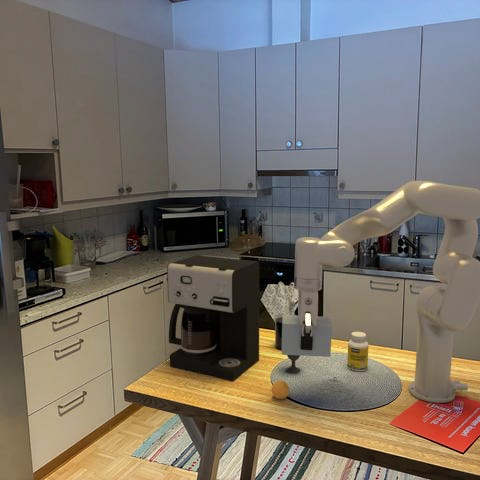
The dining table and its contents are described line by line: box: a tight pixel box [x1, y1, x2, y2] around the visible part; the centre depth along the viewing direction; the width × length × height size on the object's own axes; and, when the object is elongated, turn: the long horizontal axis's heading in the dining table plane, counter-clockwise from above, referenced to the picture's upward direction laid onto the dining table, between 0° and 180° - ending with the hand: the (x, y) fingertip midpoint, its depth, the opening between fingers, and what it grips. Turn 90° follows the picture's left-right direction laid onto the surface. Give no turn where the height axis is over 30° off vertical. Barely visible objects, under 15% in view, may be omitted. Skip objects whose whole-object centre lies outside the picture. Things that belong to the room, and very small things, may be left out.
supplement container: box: [274, 316, 283, 351], centre depth 176 cm, size 7×7×10 cm
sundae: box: [285, 355, 302, 374], centre depth 156 cm, size 7×7×15 cm
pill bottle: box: [346, 331, 370, 372], centre depth 158 cm, size 6×6×12 cm
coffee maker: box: [166, 254, 260, 382], centre depth 161 cm, size 28×20×35 cm
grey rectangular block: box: [281, 314, 333, 358], centre depth 135 cm, size 13×8×9 cm, turn 85°
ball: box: [271, 380, 290, 400], centre depth 138 cm, size 5×5×5 cm
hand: (305, 343), depth 135 cm, fingers closed on grey rectangular block, 7 cm apart
